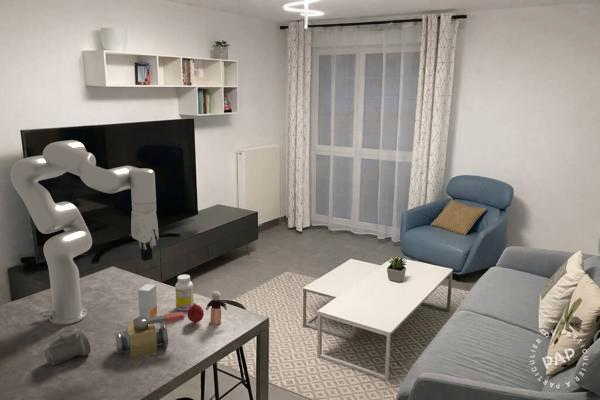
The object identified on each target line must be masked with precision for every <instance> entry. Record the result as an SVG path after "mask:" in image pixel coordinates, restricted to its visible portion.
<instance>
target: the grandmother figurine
mask: <svg viewBox="0 0 600 400" xmlns="http://www.w3.org/2000/svg"><path fill="white" fill-rule="evenodd" d="M221 296H222V294H221V293H220V291H218V290H214V291H212V293H211V297H212V299H211V300H210V301H208V303H207V305H206V307H205V310H206V311H208V310H209V308H210V316H209V317H210V321H209V322H208V325H210V326H213V325H216V326H220V325H221V324H222V322H221V321H222V308H221V307H223V308H224V310H225V311H227V310H228V307H227V305H226V303H225V302H224V301H222V300H220V298H221Z"/></svg>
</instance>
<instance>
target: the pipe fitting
mask: <svg viewBox="0 0 600 400" xmlns="http://www.w3.org/2000/svg"><path fill="white" fill-rule="evenodd" d="M58 336H59V338H57V339H55V340H53V341H51V342H50V344H49V346H48V347H45V350H44V356H45V359H46V362H47V363H48V365H50V366H52V367H54V366H56V365H59V364H60V363H61V364H62V363H63V362H65V361H67V360H70V359H72V358H74V357H76V356H86V355H88V354H90V353H91V344H90V341H89V339H88V337H87V335H86V332H84V331H83V329H77V327H76V326H71V325H70V326H66V327H63V328H62V329H60V331H59V332H58Z"/></svg>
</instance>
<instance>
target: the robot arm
mask: <svg viewBox="0 0 600 400" xmlns="http://www.w3.org/2000/svg"><path fill="white" fill-rule="evenodd" d="M96 159H97V158H96V157H95V155H94V154H93V153H92V152H90V151H89V152H88V151H87V149H86V147H85V145H84V144H83V143H82V142H80V141H78V140H74V139H70V140H69V139H68V140H60V141H55V142H51V143H49V144H47V145H46V146H45V147H44V149H43V151H42V155H41V154H40V155H35V156H29V157H24V158H20V159H19V160H17V161H16V162H15V163H14V164H13V165H12V167H11V169H10V180H11V181H10V182H11V184H12V186H13V188H14V189H15V190H16V192H17V194H18V195H19V196H20V198H21V199H22V201H23V202H24V205H25V207H26V209H27V211H28V213H29V215H30V217H31V219H32V221H33V223H34V225H35V226H36V229H37V230H38V231H39V232H40V233H41V234H44V235H46V234H52V233H55V232H59V231H61V230H63V231H64V232H62V233H59V234H56V235H53V236H52V237H50V238H49V239H47V240H46V241H45V243H44V245H43V254H44V258H45V260H46V263H47V266H48V267H47V269H48V274H49V282H50V283H49V284H50V294H51V307H48V308H46V309H44V308H43V309H39V311H38V313H39V316H42V318H45V317H48V320H49V322H50V323H51V324H53V325H58V326H59V325H60V326H61V325H62V326H63V325H71V324H74V323H78V322H80V321H82V320H83V319H85V318H86V317H87V315H88V310H87V309H86V308H84V307H83V306H82V305H83V304H82V293H81V281H80V271H79V268H78V266H77V264H76V263H75V261H74V258H77V256H79V255H82V254H83V253H87V252H88V251H89V250H90V249H91V248H92V245H93V237H92V235H91V232H90V230H89V228H88V226H87V225H86V224H87V223H85V220H84V218H83V216H82V214H81V212H80V210H79V209H78V207H77V206H76V205H74V204H73V203H72V202H69V201H59V202H57V203H56V202H55V201H54V199H53V198H52V196H51V193H50V192H49V191H48V189H47V188H45V187H44V186H43V185H42V184H40V183H39V181H44V180H48V179H52V178H58V177H59V176H63V174H66V173H70V174H73V175H76V176H78V177H79V178H80V179H81V181H82V182H83V183H84V184H85V185H86V186H87V187H89V188H91V189H94V190H96V191H98V192H102V193H106V194H115V193H118V192H119V193H120V192H122V191H124V190H125V191H126V190H130V191H131V192H130V194H131V209H132V210H131V217H130V218H131V221H130V222H131V224H130V227H131V228H130V231H131V232H130V233H131V234H130V235H131V237H132V239H134V240H137V241H138V242H139V249H140V260H142V261H144V262H148V261H151V260H153V248H154V247H156V246H157V241H158V240H159V225H158V223H159V222H158V216H157V197H156V196H157V195H156V193H157V191H156V174H155V171H154V170H153V169H151V168H145V167H144V168H143V167H142V168H139V167H135V166H132V165H124V166H119V167H113V168H109V169H105V168H103V167H100V166H97V160H96Z"/></svg>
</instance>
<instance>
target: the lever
mask: <svg viewBox="0 0 600 400" xmlns="http://www.w3.org/2000/svg"><path fill="white" fill-rule="evenodd" d="M184 320H185V315H184V312H183V311H179V312H173V313H172V312H171V313H166V314H164V315H159V316H155V317H153V318H147V317H139V316H137V317H135V318H134V319H133V320H132V323H133V324H134V329H137V330H142V329H145V328H147V327H148V326H149V324H154V325H155V324H160V323H165V324H166V323H171V322H178V321H184Z"/></svg>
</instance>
